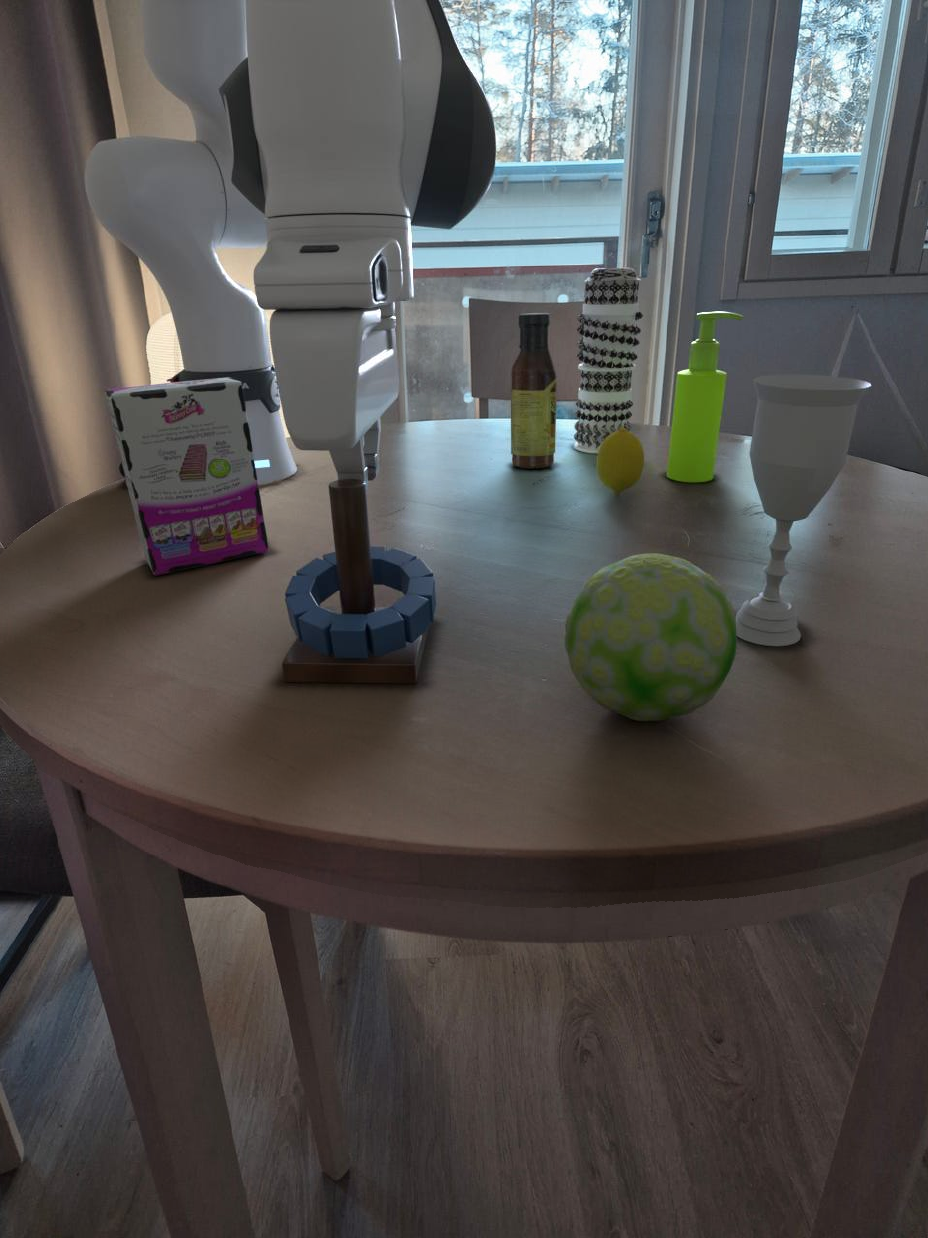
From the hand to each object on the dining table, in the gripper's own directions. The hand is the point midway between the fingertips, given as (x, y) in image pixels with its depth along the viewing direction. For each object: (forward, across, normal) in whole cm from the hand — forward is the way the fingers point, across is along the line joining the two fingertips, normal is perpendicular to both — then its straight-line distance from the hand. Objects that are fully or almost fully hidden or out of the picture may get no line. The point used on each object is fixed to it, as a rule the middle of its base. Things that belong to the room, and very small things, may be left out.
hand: (360, 486), depth 51 cm
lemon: (+11, -37, +24) cm, 45 cm away
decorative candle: (+11, -63, +25) cm, 68 cm away
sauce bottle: (+11, -52, +14) cm, 55 cm away
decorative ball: (+11, +11, +19) cm, 25 cm away
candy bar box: (+11, -15, -19) cm, 27 cm away
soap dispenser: (+11, -45, +35) cm, 58 cm away
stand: (+11, +4, 0) cm, 12 cm away
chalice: (+11, 0, +30) cm, 32 cm away
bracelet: (+8, +3, 0) cm, 9 cm away
